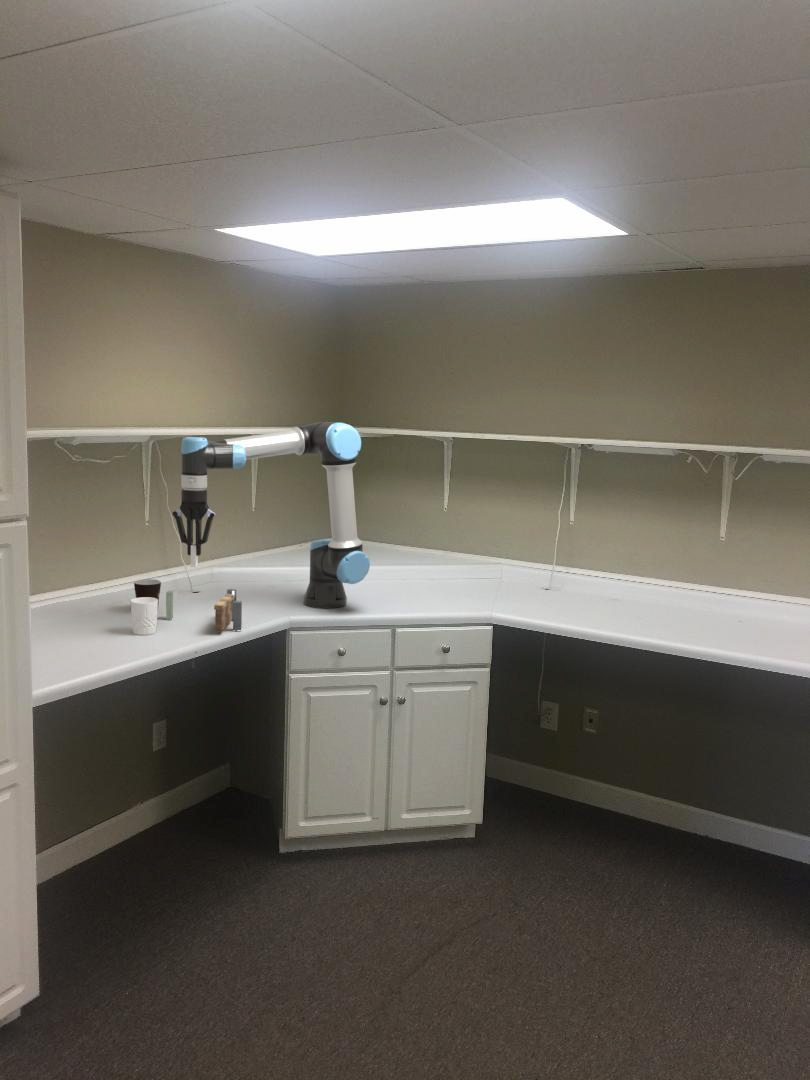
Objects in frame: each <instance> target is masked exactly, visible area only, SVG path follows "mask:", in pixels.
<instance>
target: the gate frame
mask: <svg viewBox="0 0 810 1080" xmlns="http://www.w3.org/2000/svg"><path fill="white" fill-rule="evenodd" d="M226 594H234V598H233V599H232V620H231V621H232V631H233V630H241V628H243V627H242V623H243V622H242V621H243V620H242V619H243V614H242V613H243V601H241V600H237V589H236V588H235V589H234V588H229V589H227V590H226ZM165 601H166V602H165V606H166V607H165V613H166V614H165V620H166V621H172V620H173V619H174V590H167V591H166V593H165ZM172 618H173V619H172ZM241 631H242V630H241Z"/></svg>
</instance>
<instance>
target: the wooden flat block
mask: <svg viewBox="0 0 810 1080" xmlns="http://www.w3.org/2000/svg"><path fill="white" fill-rule="evenodd" d="M233 598H234V594H227V593H226V594H224V596H223V597H222V598H220V599H219V600H218V602H216V603H215V604H214V605H213V610H215V611H214V612H215V613H214V614H215V622H214V623H215V625H214V626H215V627H214V630H215V631H214V632H216V633H222V632H223V631H224V629H225V628H226V627H227V626H229V624H230V623H232V622H231V620H232V599H233Z"/></svg>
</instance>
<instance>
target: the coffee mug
mask: <svg viewBox="0 0 810 1080" xmlns="http://www.w3.org/2000/svg"><path fill="white" fill-rule="evenodd" d="M133 585H134V593H135V595H134V596H135V598H140V597H151V598H156V599H158V605H159V602H160V594H161V587H162V581H161V580H158V579H153V578H152V579H151V578H150V579H149V578H147V579H146V578H144V579H136V580H134V582H133Z"/></svg>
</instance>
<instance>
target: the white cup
mask: <svg viewBox="0 0 810 1080" xmlns="http://www.w3.org/2000/svg"><path fill="white" fill-rule="evenodd" d="M157 611H159V604H158V599H156V598H151V597H140V598H136V597H134V598H132V599H130V614H131V623H132V625H131V626H132V633H133V634H134V635H138V636H149V635H154V634H155V633H156V632H157V624H158V612H157Z"/></svg>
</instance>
